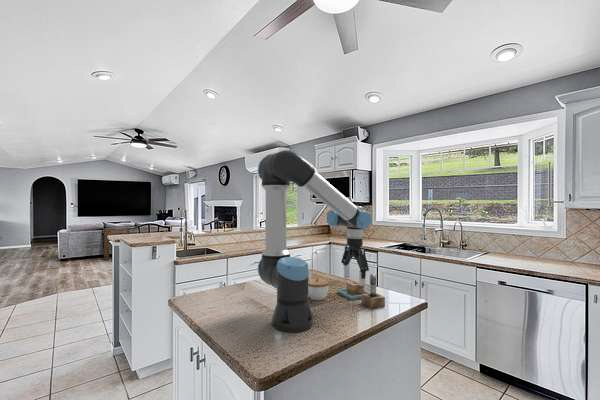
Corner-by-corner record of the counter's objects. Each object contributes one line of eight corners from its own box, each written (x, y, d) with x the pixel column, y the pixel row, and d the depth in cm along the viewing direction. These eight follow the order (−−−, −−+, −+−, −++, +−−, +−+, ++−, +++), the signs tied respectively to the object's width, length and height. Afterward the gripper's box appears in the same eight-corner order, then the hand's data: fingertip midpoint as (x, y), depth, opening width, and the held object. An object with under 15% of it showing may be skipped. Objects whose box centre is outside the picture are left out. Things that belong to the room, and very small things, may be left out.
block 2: (371, 308, 123) (371, 298, 123) (361, 303, 129) (361, 294, 129) (384, 306, 125) (384, 296, 125) (374, 301, 132) (374, 292, 132)
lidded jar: (328, 294, 140) (328, 275, 140) (328, 302, 130) (328, 281, 130) (306, 294, 141) (306, 274, 141) (304, 301, 131) (304, 280, 131)
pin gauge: (372, 306, 125) (372, 275, 126) (368, 304, 128) (368, 274, 128) (377, 305, 126) (377, 275, 127) (373, 303, 129) (373, 274, 129)
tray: (350, 300, 133) (350, 296, 133) (337, 292, 144) (337, 289, 144) (372, 297, 137) (372, 293, 137) (358, 289, 148) (358, 286, 148)
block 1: (353, 296, 137) (353, 285, 137) (346, 292, 142) (346, 282, 142) (364, 294, 139) (364, 283, 139) (356, 290, 145) (356, 280, 145)
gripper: (377, 240, 131) (376, 287, 130) (347, 234, 154) (346, 275, 153) (363, 241, 128) (362, 289, 127) (335, 235, 151) (334, 276, 150)
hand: (353, 281), depth 140 cm, fingers open, 13 cm apart
